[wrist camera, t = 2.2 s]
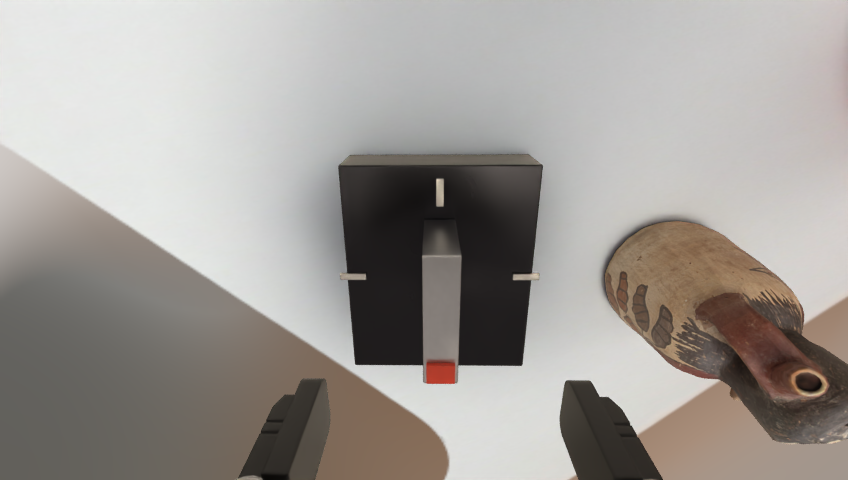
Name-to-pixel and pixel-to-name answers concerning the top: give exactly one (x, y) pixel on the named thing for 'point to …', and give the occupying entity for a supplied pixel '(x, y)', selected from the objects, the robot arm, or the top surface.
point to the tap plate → (403, 244)
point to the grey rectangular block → (441, 301)
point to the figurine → (730, 328)
